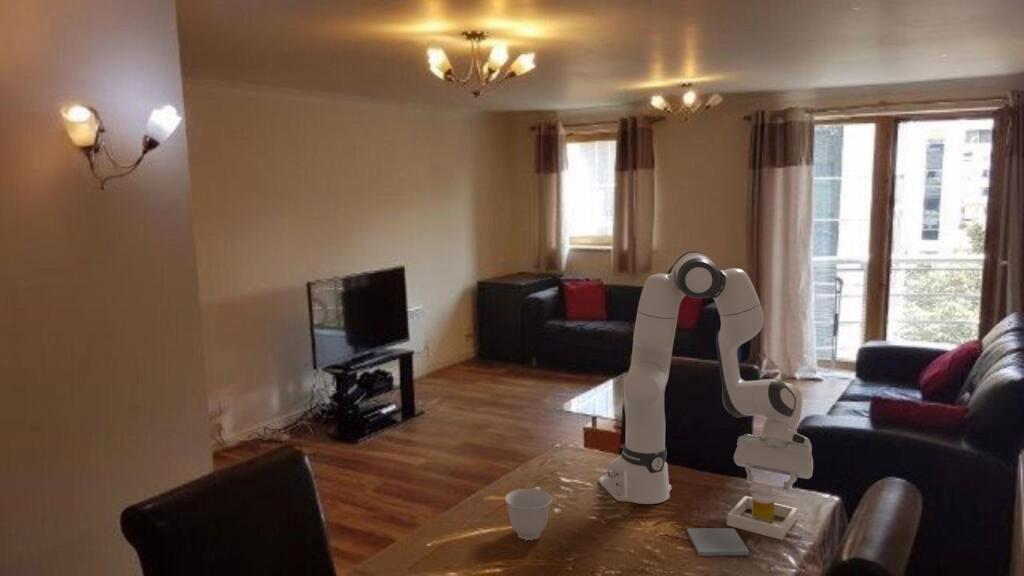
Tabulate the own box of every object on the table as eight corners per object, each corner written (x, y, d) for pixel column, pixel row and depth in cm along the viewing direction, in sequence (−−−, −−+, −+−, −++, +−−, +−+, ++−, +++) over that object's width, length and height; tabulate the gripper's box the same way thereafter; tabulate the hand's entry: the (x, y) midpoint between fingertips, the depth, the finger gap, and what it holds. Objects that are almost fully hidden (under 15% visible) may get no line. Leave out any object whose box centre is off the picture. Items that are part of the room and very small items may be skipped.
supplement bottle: (774, 527, 192) (776, 492, 191) (752, 526, 193) (754, 490, 192) (771, 518, 197) (773, 483, 196) (750, 516, 199) (752, 482, 197)
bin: (726, 525, 194) (727, 514, 193) (744, 506, 205) (745, 495, 205) (781, 539, 186) (782, 528, 185) (797, 519, 197) (797, 508, 197)
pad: (687, 532, 190) (687, 528, 190) (733, 531, 190) (734, 528, 190) (699, 555, 178) (699, 551, 178) (749, 555, 178) (749, 551, 178)
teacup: (560, 523, 195) (561, 487, 194) (544, 550, 181) (544, 511, 180) (517, 517, 199) (517, 481, 198) (498, 542, 185) (497, 504, 184)
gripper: (737, 427, 207) (726, 472, 201) (815, 440, 196) (806, 488, 190) (741, 438, 212) (730, 482, 205) (818, 451, 201) (809, 498, 194)
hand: (767, 485), depth 197 cm, fingers open, 8 cm apart
